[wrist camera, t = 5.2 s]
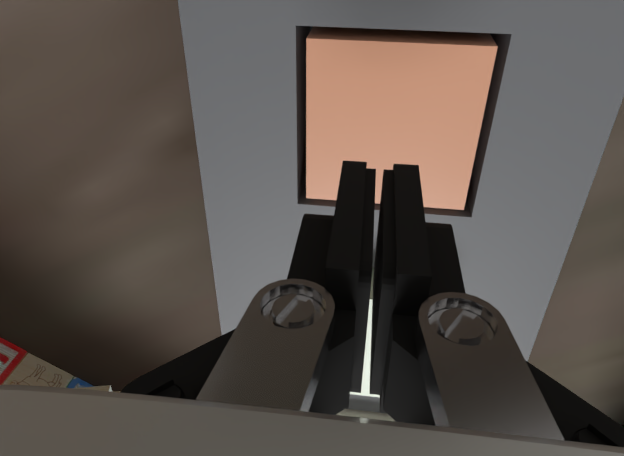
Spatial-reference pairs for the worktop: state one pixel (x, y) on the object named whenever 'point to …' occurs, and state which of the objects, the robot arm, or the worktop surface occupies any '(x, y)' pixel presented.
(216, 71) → the key panel
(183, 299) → the worktop surface
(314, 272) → the robot arm
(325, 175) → the terracotta key
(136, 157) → the worktop surface
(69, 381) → the stack of blocks
